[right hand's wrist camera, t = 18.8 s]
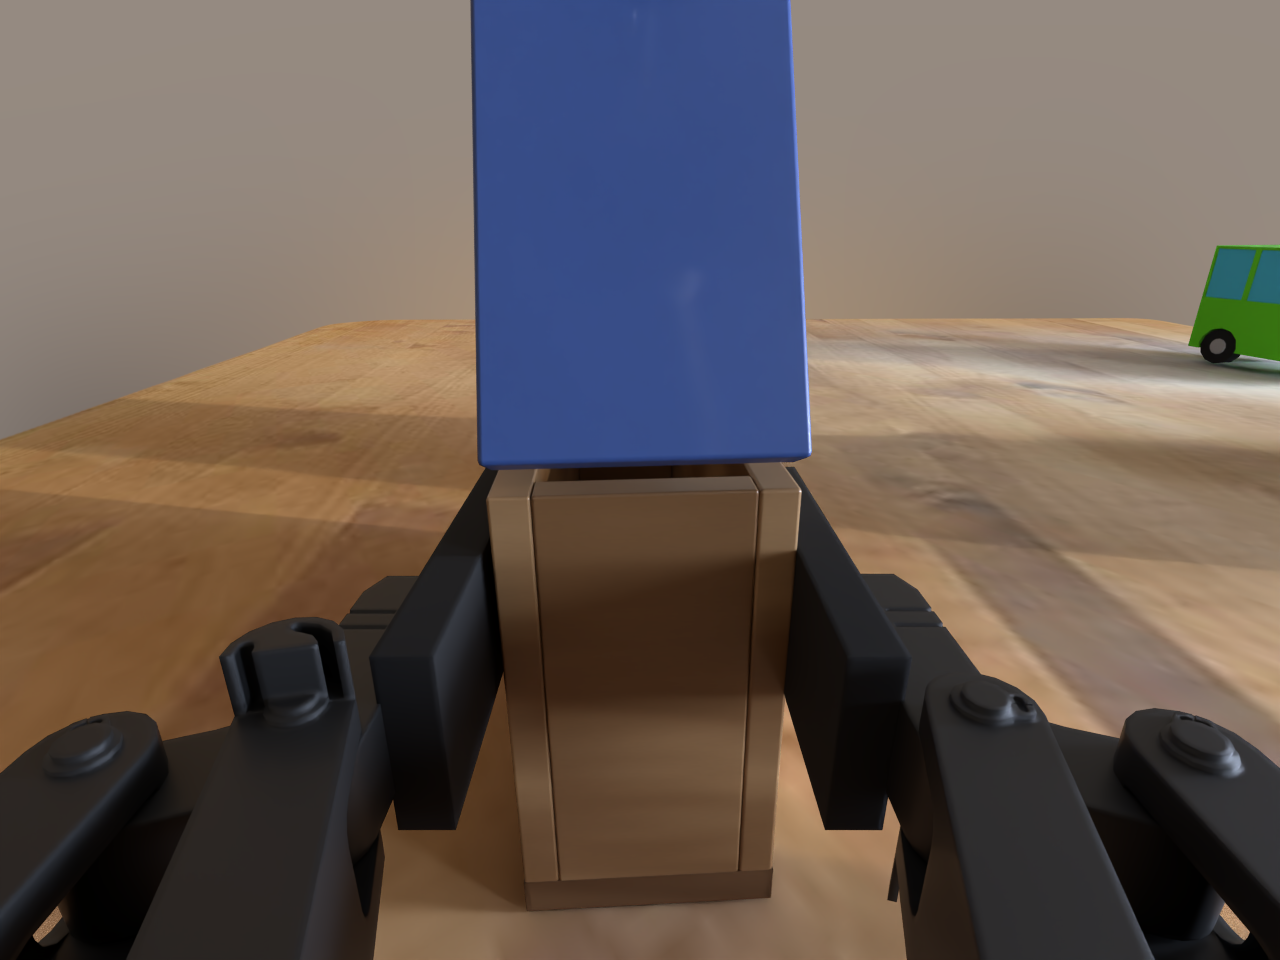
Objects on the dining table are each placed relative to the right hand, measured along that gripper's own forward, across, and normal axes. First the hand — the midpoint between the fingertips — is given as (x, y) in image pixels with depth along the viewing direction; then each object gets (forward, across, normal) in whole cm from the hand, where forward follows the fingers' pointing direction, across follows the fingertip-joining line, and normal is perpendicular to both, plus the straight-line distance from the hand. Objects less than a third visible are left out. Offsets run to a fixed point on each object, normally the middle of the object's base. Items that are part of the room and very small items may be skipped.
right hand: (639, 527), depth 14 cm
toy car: (+45, +57, -6) cm, 73 cm away
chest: (+3, 0, -6) cm, 7 cm away
